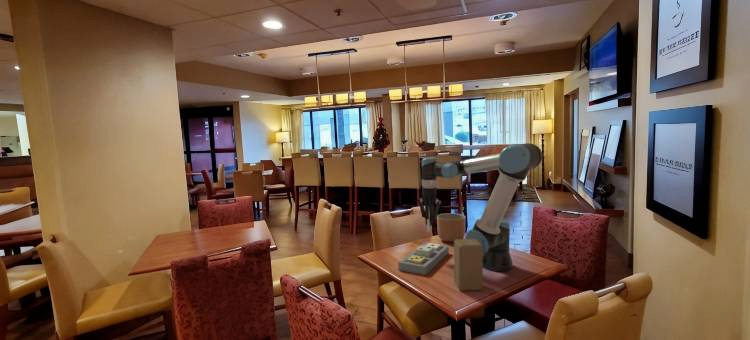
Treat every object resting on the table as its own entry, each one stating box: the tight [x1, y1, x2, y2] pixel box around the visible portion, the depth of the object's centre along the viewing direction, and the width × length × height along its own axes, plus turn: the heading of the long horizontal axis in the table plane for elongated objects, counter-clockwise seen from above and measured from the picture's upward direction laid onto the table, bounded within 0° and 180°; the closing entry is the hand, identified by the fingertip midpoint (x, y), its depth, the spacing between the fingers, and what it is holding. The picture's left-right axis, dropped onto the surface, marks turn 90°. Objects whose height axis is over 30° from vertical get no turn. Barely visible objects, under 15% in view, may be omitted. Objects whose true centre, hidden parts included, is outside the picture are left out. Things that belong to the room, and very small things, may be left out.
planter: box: [436, 212, 467, 244], centre depth 221 cm, size 17×17×15 cm
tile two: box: [415, 244, 434, 257], centre depth 187 cm, size 7×7×4 cm
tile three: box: [407, 255, 426, 265], centre depth 178 cm, size 7×7×4 cm
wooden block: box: [453, 238, 484, 292], centre depth 156 cm, size 10×10×20 cm
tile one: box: [425, 242, 442, 251], centre depth 197 cm, size 7×7×4 cm
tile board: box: [398, 242, 449, 276], centre depth 188 cm, size 14×34×4 cm, turn 150°
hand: (429, 230), depth 192 cm, fingers closed
